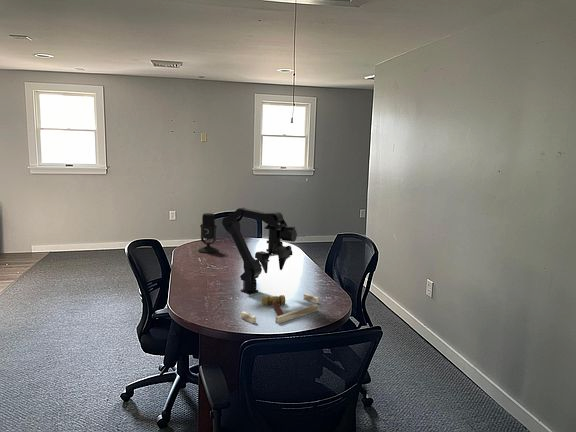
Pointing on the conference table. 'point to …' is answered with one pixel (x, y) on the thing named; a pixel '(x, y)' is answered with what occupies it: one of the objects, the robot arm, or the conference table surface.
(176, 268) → the conference table surface
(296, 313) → the wooden bars
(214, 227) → the microphone
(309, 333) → the conference table surface
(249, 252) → the robot arm
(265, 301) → the gavel
